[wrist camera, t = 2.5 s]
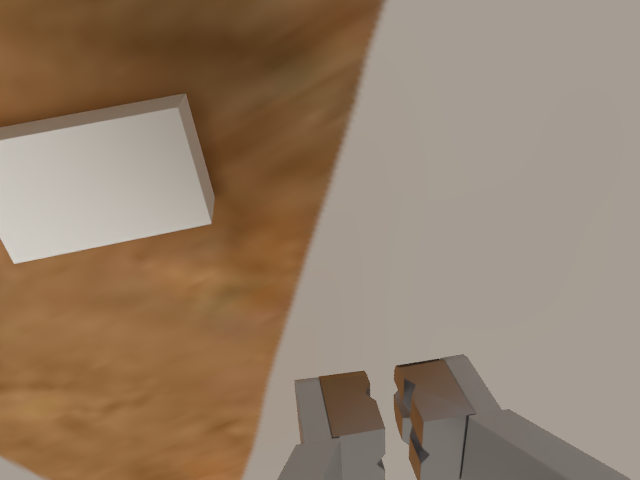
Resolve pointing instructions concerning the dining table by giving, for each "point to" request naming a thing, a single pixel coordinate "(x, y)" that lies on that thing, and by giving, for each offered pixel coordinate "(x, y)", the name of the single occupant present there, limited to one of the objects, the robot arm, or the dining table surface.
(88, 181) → the offwhite block
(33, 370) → the dining table surface
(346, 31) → the dining table surface
